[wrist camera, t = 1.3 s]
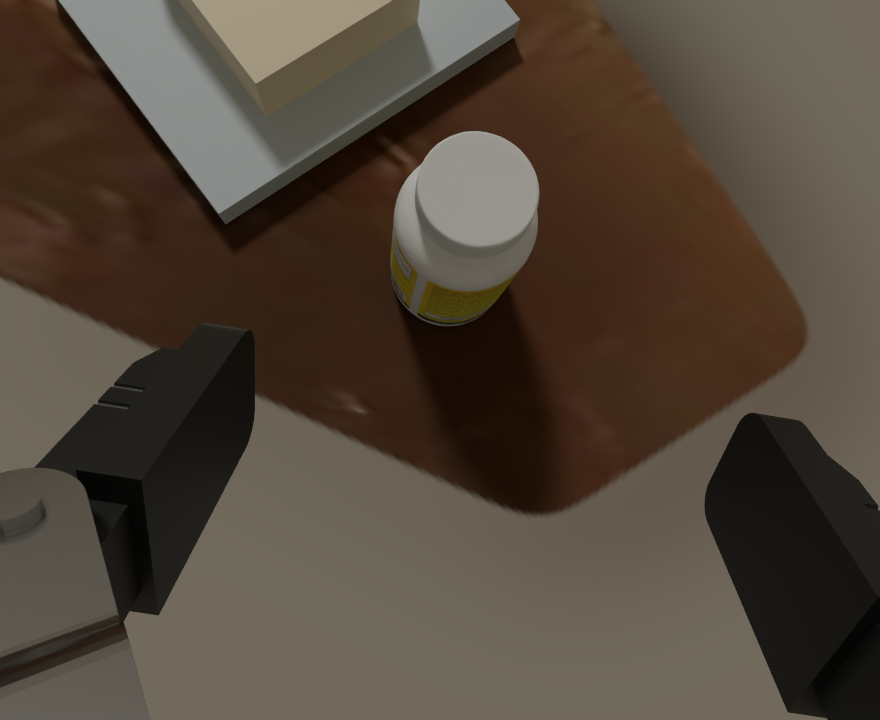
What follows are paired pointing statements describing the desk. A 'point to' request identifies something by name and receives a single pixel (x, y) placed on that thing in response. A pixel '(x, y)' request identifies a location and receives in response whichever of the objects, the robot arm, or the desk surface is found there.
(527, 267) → the desk surface
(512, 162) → the pill bottle
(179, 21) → the board
